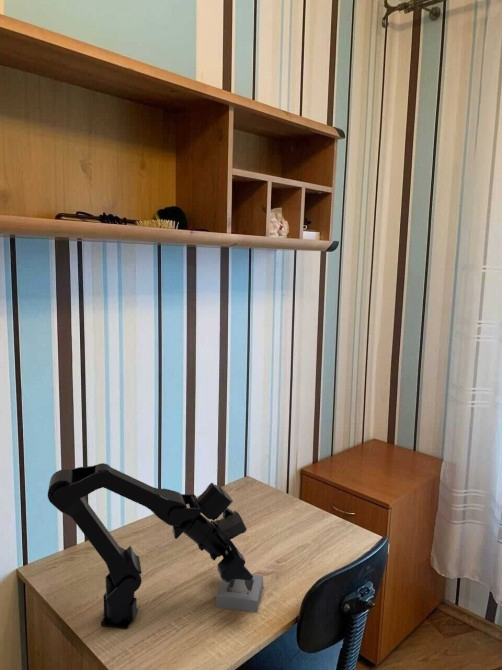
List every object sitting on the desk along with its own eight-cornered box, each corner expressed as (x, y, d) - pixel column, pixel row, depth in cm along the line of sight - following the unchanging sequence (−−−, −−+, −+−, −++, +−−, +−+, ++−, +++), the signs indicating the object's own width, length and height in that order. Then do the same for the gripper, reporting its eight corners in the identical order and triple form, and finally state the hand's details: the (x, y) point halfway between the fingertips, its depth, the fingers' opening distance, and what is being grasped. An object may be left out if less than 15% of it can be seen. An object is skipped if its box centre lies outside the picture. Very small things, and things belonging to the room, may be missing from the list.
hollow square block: (215, 607, 124) (216, 595, 124) (224, 581, 134) (224, 571, 134) (257, 612, 123) (257, 600, 122) (262, 586, 132) (263, 575, 132)
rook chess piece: (230, 591, 130) (230, 561, 129) (247, 590, 131) (248, 561, 130) (230, 602, 126) (231, 572, 125) (248, 602, 126) (249, 571, 125)
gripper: (237, 525, 115) (282, 563, 120) (216, 489, 132) (256, 524, 137) (202, 564, 114) (248, 601, 119) (186, 522, 131) (227, 556, 136)
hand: (246, 567), depth 128 cm, fingers open, 9 cm apart
